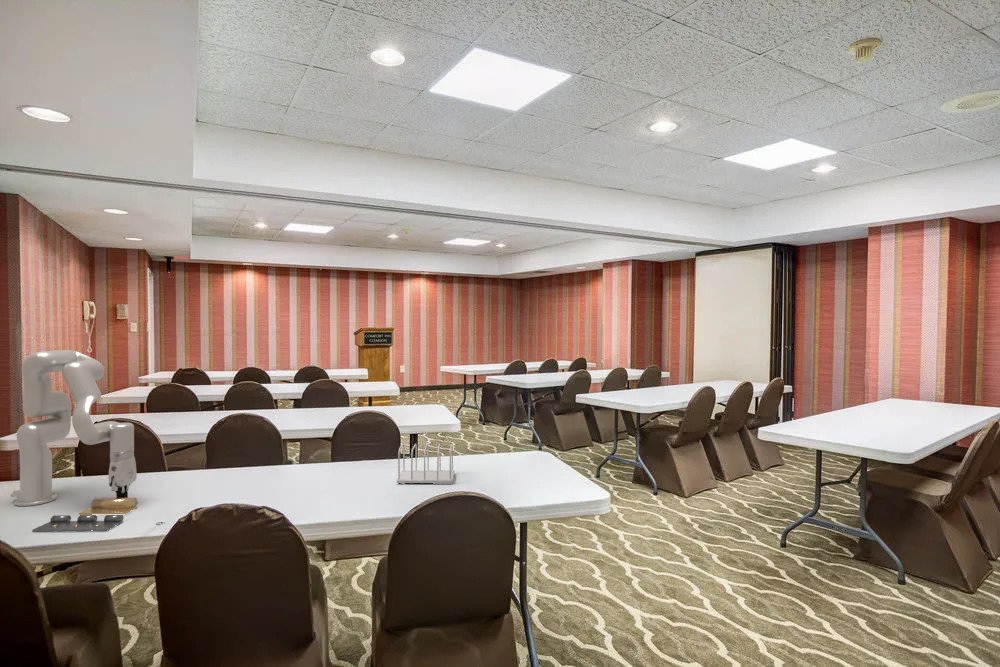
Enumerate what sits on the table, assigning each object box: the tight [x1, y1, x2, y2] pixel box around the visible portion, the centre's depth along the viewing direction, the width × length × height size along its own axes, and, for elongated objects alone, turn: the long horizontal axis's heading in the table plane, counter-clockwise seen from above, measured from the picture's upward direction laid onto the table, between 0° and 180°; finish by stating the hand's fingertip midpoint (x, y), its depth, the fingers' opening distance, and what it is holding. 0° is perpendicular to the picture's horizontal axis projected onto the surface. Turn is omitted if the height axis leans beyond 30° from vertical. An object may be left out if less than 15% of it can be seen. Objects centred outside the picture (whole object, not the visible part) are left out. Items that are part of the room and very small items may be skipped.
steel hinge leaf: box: [31, 514, 124, 533], centre depth 183 cm, size 24×10×3 cm, turn 93°
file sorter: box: [396, 442, 455, 485], centre depth 246 cm, size 25×17×16 cm
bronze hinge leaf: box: [78, 497, 138, 516], centre depth 199 cm, size 16×9×4 cm, turn 93°
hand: (121, 502), depth 205 cm, fingers closed
